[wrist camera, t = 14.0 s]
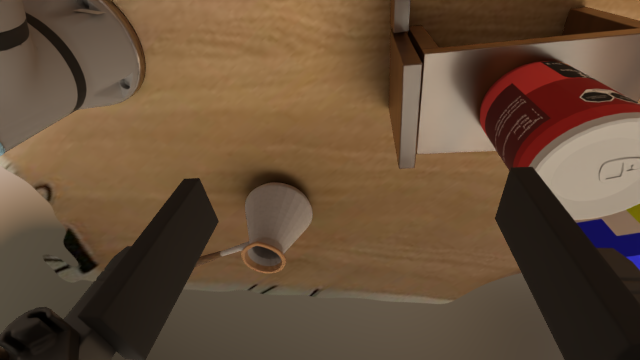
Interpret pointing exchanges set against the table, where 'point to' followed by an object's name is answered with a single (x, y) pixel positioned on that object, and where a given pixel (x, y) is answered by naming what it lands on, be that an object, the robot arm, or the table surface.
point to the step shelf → (491, 75)
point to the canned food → (567, 135)
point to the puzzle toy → (616, 232)
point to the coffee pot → (270, 226)
